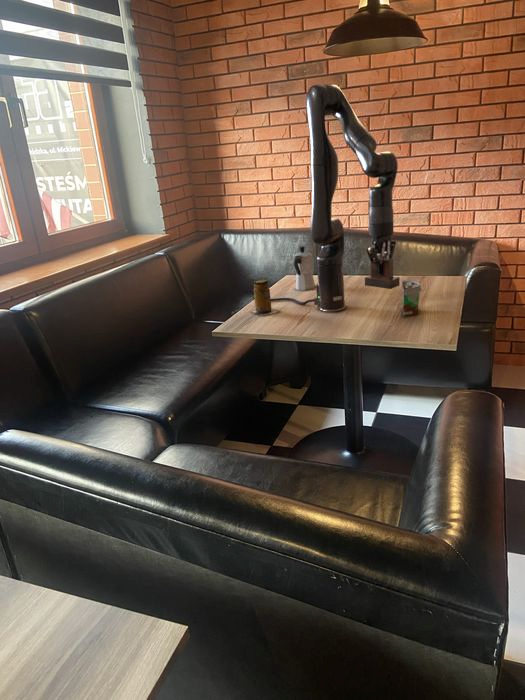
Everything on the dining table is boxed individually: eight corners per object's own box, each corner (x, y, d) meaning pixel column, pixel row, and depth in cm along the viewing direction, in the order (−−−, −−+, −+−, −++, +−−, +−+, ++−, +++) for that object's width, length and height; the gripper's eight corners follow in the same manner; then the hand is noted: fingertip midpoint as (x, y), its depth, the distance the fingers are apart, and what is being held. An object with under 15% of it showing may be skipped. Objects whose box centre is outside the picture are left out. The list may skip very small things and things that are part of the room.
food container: (422, 317, 179) (422, 288, 175) (403, 318, 180) (403, 289, 177) (420, 306, 190) (420, 279, 187) (402, 307, 191) (402, 280, 188)
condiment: (267, 307, 209) (264, 277, 205) (278, 312, 202) (275, 281, 198) (251, 312, 206) (247, 281, 202) (261, 316, 199) (258, 285, 195)
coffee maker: (301, 284, 239) (298, 243, 233) (319, 284, 235) (317, 243, 229) (288, 293, 227) (284, 250, 221) (307, 293, 223) (304, 250, 217)
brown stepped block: (364, 285, 177) (364, 259, 174) (373, 282, 180) (373, 256, 177) (390, 289, 170) (390, 262, 167) (399, 285, 173) (399, 258, 170)
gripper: (383, 216, 174) (384, 268, 180) (357, 223, 166) (359, 278, 172) (403, 216, 169) (403, 270, 175) (378, 224, 160) (379, 280, 167)
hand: (381, 274), depth 173 cm, fingers closed on brown stepped block
